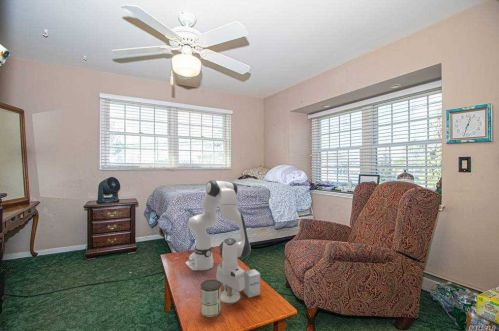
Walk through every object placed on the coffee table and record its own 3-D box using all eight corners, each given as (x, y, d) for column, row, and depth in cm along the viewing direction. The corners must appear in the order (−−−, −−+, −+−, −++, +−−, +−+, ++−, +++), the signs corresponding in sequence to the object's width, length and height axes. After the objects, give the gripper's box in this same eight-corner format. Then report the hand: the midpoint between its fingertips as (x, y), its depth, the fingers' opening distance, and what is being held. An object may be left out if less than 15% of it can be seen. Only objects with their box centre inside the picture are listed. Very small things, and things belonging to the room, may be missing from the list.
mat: (214, 298, 135) (214, 297, 135) (230, 290, 144) (230, 289, 144) (228, 306, 127) (228, 306, 127) (244, 297, 136) (244, 297, 136)
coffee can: (198, 308, 125) (198, 281, 125) (216, 303, 130) (216, 277, 130) (204, 320, 116) (204, 291, 116) (223, 314, 121) (224, 286, 121)
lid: (214, 297, 135) (214, 287, 135) (230, 289, 144) (230, 280, 144) (228, 306, 127) (228, 295, 127) (244, 297, 136) (244, 287, 136)
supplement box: (249, 298, 135) (249, 276, 135) (243, 292, 142) (243, 270, 142) (260, 295, 139) (260, 273, 139) (254, 289, 145) (254, 268, 145)
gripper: (213, 264, 140) (213, 288, 140) (238, 276, 126) (238, 302, 126) (222, 261, 145) (221, 284, 145) (246, 272, 131) (246, 297, 131)
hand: (229, 292), depth 135 cm, fingers open, 4 cm apart
